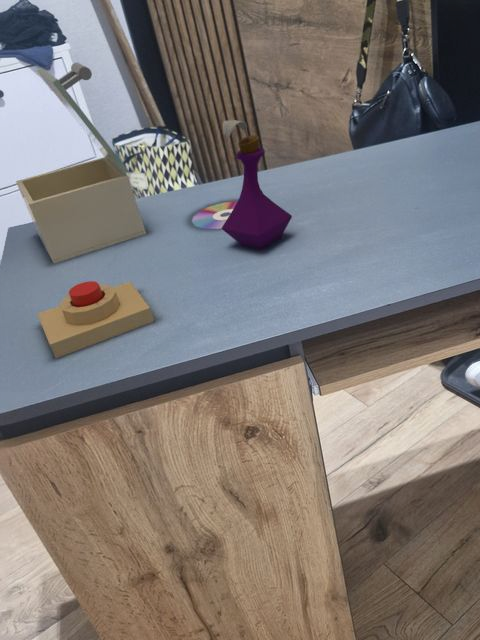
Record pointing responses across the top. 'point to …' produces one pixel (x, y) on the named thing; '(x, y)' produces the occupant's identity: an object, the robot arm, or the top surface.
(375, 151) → the top surface
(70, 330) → the control block
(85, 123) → the lid
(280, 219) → the perfume bottle
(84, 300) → the button
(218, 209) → the cd
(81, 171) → the compartment
